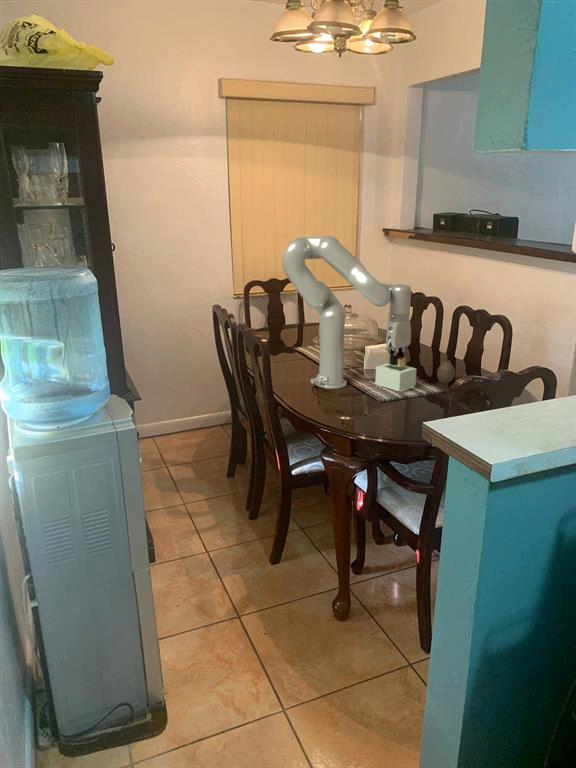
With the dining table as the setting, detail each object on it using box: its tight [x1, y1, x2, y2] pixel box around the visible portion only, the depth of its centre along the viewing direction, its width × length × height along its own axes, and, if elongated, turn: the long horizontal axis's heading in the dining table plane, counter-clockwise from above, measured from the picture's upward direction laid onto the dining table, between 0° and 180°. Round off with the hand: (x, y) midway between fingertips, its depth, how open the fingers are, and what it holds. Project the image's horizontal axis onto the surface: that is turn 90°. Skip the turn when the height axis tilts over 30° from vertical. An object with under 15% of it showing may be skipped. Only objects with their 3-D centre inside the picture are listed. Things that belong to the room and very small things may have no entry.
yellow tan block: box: [387, 355, 407, 367], centre depth 222 cm, size 3×6×3 cm, turn 41°
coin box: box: [374, 362, 417, 391], centre depth 224 cm, size 10×12×8 cm
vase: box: [436, 359, 456, 384], centre depth 230 cm, size 7×7×9 cm
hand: (396, 363), depth 222 cm, fingers closed on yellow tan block, 3 cm apart
